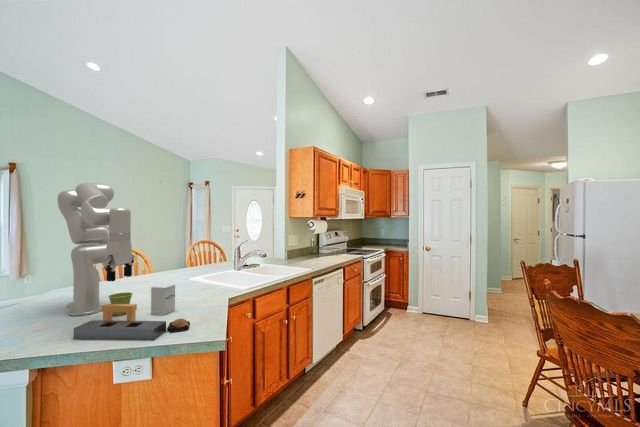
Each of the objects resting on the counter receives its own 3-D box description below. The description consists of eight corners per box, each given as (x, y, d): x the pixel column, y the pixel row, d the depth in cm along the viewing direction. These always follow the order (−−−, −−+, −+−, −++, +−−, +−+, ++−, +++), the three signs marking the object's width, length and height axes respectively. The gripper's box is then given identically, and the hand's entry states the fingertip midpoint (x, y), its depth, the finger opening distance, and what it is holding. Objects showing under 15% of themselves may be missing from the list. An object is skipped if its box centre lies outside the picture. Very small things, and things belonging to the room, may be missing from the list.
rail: (73, 339, 106) (73, 328, 106) (91, 330, 114) (91, 320, 114) (153, 340, 105) (153, 329, 105) (166, 331, 113) (166, 321, 113)
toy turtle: (167, 326, 120) (167, 317, 120) (189, 323, 123) (189, 314, 123) (166, 335, 110) (166, 326, 110) (190, 331, 114) (190, 322, 114)
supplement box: (164, 315, 131) (164, 287, 131) (150, 314, 132) (150, 286, 132) (175, 310, 138) (175, 284, 138) (162, 309, 140) (162, 283, 140)
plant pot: (111, 311, 136) (111, 293, 136) (134, 309, 140) (134, 291, 140) (105, 318, 128) (105, 298, 128) (130, 315, 131) (130, 296, 131)
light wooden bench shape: (101, 325, 119) (101, 305, 119) (106, 322, 122) (106, 303, 122) (132, 325, 119) (132, 306, 119) (136, 323, 122) (136, 304, 122)
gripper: (125, 236, 130) (125, 274, 129) (94, 239, 112) (94, 283, 112) (142, 236, 129) (141, 274, 129) (113, 239, 112) (113, 283, 112)
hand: (119, 278), depth 121 cm, fingers open, 9 cm apart
